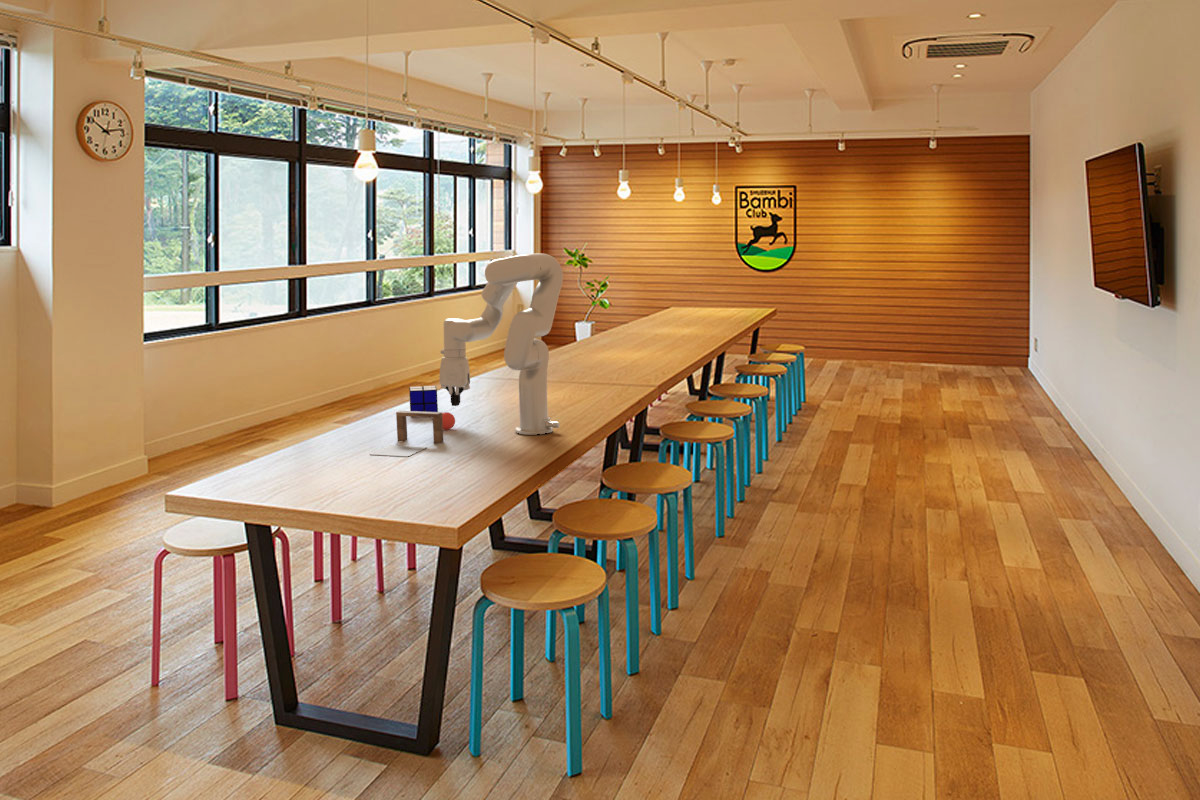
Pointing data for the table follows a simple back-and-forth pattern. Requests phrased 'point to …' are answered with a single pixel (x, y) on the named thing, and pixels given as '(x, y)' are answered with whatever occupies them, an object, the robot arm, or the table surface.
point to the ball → (448, 420)
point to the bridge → (402, 416)
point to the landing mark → (398, 451)
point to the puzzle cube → (423, 399)
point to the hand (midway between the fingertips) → (455, 405)
